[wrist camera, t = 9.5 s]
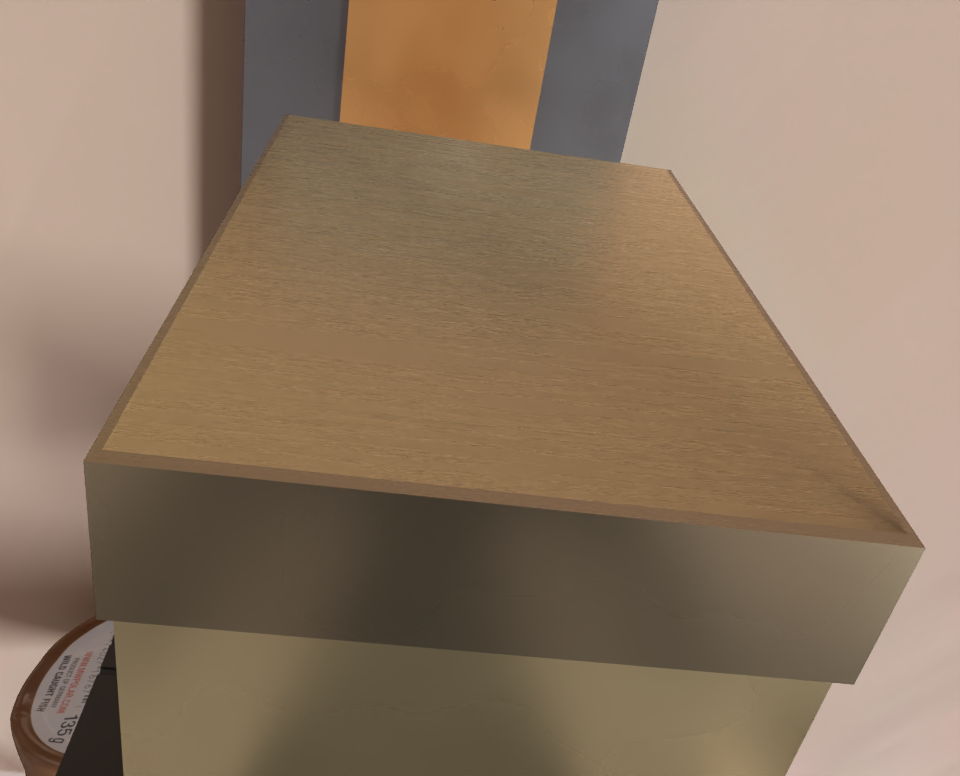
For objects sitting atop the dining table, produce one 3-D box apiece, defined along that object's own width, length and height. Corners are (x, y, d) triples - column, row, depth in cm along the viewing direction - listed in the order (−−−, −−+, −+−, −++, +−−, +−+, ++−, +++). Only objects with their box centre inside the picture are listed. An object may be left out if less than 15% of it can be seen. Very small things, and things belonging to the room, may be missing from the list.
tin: (79, 648, 36) (-14, 854, 28) (54, 587, 34) (-51, 790, 27) (466, 619, 35) (472, 819, 28) (460, 557, 34) (464, 752, 27)
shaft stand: (268, -408, 20) (142, -582, 11) (717, -314, 21) (895, -413, 12) (241, 509, 32) (171, 737, 24) (520, 537, 33) (544, 765, 25)
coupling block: (491, 841, 16) (513, 1332, 11) (251, 825, 15) (152, 1329, 10) (670, 170, 10) (925, 549, 5) (285, 114, 9) (85, 460, 4)
